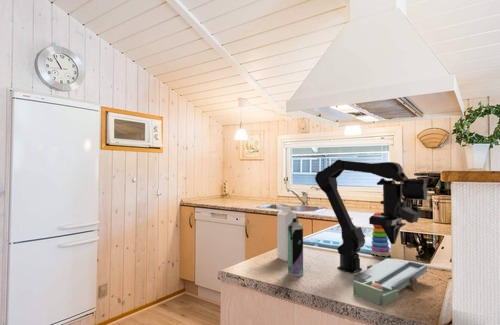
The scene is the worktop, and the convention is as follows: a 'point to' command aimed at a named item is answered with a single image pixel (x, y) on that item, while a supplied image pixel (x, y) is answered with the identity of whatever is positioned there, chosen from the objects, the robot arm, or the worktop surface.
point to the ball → (376, 286)
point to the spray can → (295, 248)
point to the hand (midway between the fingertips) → (392, 243)
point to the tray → (374, 293)
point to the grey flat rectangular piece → (392, 274)
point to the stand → (411, 287)
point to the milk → (283, 231)
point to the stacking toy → (379, 240)
